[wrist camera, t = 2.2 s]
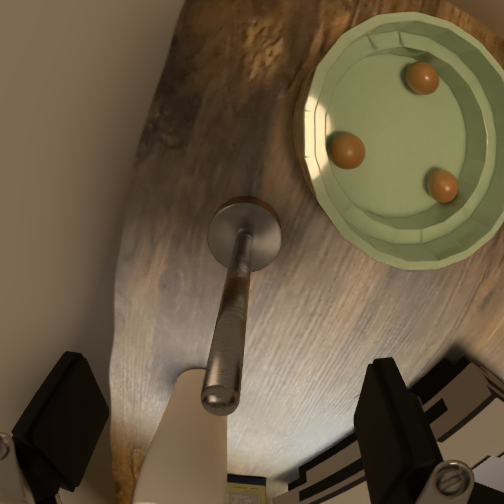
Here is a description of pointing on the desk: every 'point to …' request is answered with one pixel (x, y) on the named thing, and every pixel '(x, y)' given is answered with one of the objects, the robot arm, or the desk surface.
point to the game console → (442, 425)
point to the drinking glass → (185, 451)
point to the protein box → (245, 490)
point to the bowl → (406, 140)
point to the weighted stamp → (236, 291)
